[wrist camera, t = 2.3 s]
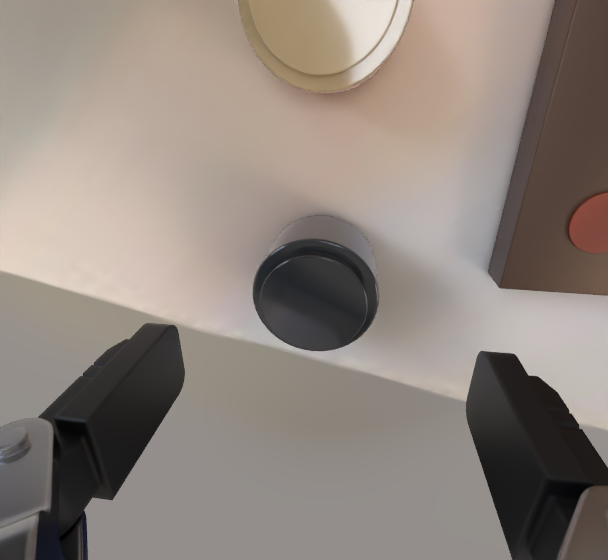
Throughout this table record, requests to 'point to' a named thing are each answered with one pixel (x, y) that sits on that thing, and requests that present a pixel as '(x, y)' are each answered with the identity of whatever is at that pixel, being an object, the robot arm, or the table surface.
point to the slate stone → (317, 284)
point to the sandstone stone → (324, 39)
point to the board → (562, 165)
